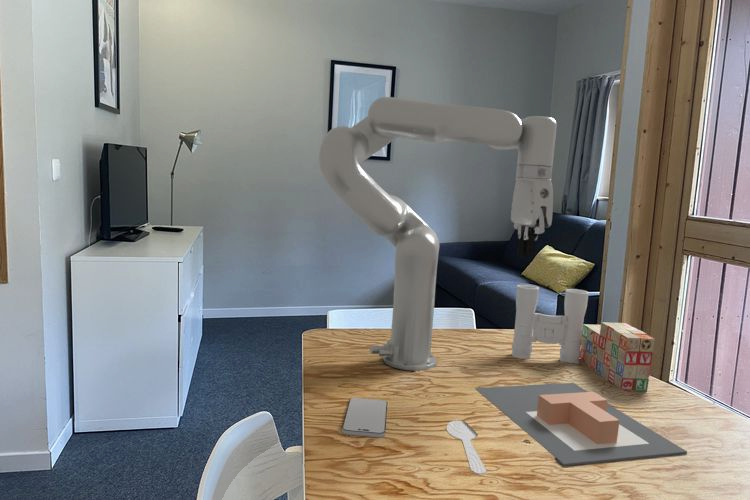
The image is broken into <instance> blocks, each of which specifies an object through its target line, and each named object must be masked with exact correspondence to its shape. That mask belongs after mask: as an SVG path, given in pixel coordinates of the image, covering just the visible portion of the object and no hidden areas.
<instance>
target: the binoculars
mask: <svg viewBox="0 0 750 500" xmlns="http://www.w3.org/2000/svg"><path fill="white" fill-rule="evenodd" d="M564 291H565V293H564V306H563V308H564V309H563V310H564V315H549V314H542V313H540V312H536V310H537V305H538V301H539V293H540V287H539V286H537V285H531V284H517V285H516V293H515V311H516V312H515V320H514V322H515V323H514V329H513V332H514V333H513V340H512V344H511V350H512V351H511V357H514V358H516V359H521V360H529V359H531V355H532V354H531V353H532V350H533V343H536V342H539V343H542V344H548V345H549V344H551V345H552V344H553V345H556V344H558V345H559V346H560V349H559V361H560V362H561V363H570V364H571V363H572V364H575V365H579V363H580V355H581V342H582V330H583V324H584V320H585V319H584V318H585V315H586V313H587V307H588V301H589V294H590V293H589V291H587V290H584V289H578V288H567V289H565V290H564Z"/></svg>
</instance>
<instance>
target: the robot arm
mask: <svg viewBox="0 0 750 500" xmlns="http://www.w3.org/2000/svg"><path fill="white" fill-rule="evenodd" d="M557 125H558V124H557V121H556V120H555V118H553V117H551V116H543V115H534V116H533V115H532V116H526V117H524V118H519V117H518V115H517V114H515V113H514V112H511V111H509V110H505V109H497V108H490V107H481V106H472V105H462V104H461V105H459V104H452V103H439V102H430V101H425V100H424V101H423V100H415V99H407V98H400V97H393V96H382V97H379V98H376V99H375V100H374V101H373V102H371V104H370V106H369V108H368V111H367V116H366V117H364V118H363V119H362V120H360V121H359V122H357V123H356V124H355V125H353V126H352V127H349V126H345V125H343V126H342V125H341V126H336V127H333V128H332V129H330V130H329V131H328V132H327V133H326V134H325V136H324V137H323V140H322V141H321V144H320V147H319V155H318V157H319V158H318V162H319V167H320V172H321V174H322V176H323V178H324V180H325V182H326V184H327V185H328V186H329V188H330V189H331V190H332V191H333V192H334V194H335V195H337V197H338V198H339V199H340V200H341V201H342V202H343V203H344V204H345V205H346V206H347V207H348V208H349V209H350V210H351V211H352V212H353V213H354V214H355V215H356V216H357V217H358V218H359V219H360V221H362V223H363V224H364V225H366V226H367V228H368V230H370V231H371V232H372V233H373V234H374V235H377V236H379V237H385V238H386V239H387V240H388V241H389V242H390V243H391V244H392V245H393V246H394V247H395V251H394V252H395V253H394V254H395V255H394V256H395V257H394V286H393V305H392V319H391V334H390V339H388V340H386V343H383V344H382V345H377V344H376V345H370V347H369V351H370V354H371V355H375V354H376V355H378V357H382V361H383V363H384V364H385V365H387V366H389V367H391V368H393V369H399V370H405V371H410V372H411V371H424V370H425V371H426V370H430V369H432V368H435V367H436V365H437V358H436V356H434V355H433V354H431V352H432V340H433V339H432V337H433V326H434V313H435V300H436V286H437V285H436V284H437V271H438V263H439V252H440V239H439V237H438V235H437V233H436V232H435V231H434V230H433V228H431V227H430V226H429V225H428V224H427V223H426V222H425V221H424V220H423V219H422V218H421V217H420V216H419V215H418V214H417V213H416V211H414V210H413V209H412V208H411V207H410V206H409V205H408V204H407V203H406V202H405V201H403V199H401V198H400V197H398V196H396V195H393V194H389V193H388V192H386V191H385V190H384V189H383V188H382V187H381V186H380V185H379V184H378V183H377V181H375V180H374V179H373V177H372V176H370V174H368V173H367V172H366V171H365V170H364V169H363V168H362V167H361V165H360V163H363V162H364V161H366V160H367V159H369V158H370V157H372V156H373V155H375V154H376V153H377V152H379V151H380V150H382V149H383V148H385V147H386V146H387V145H389V144H390V143H391V142H393V141H394V140H396V138H402V139H408V140H415V141H416V140H417V141H422V142H431V143H440V144H441V143H443V144H444V143H452V142H460V143H469V144H470V143H471V144H479V145H486V146H489V147H490V148H492V149H494V150H498V151H505V150H506V151H507V150H518V151H517V162H516V173H515V174H516V175H515V184H514V190H513V194H512V200H511V201H512V202H511V208H510V210H511V211H510V220H511V222H512V223H513V228H514V229H515V230H516V231H517V238H518V247H517V248H518V249H517V257H518V258H523V259H533V258H535V250H536V249H535V248H536V241H537V240H538V237H539V235H541V234H544V233H545V228H550V227H551V226H552V222H553V213H554V212H553V211H554V208H553V207H554V188H553V182H552V174H553V165H554V155H555V145H556V138H557Z"/></svg>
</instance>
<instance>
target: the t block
mask: <svg viewBox="0 0 750 500" xmlns="http://www.w3.org/2000/svg"><path fill="white" fill-rule="evenodd" d="M607 403H608V399H606V398H605V397H603V396H601V395H600V394H598V393H596V392H595V391H588V392H580V393H564V394H548V395H539V399H538V408H537V416H538V417H539V418H541V419H542V420H543V421H545V422H546V423H547V424H549V425H554V424H567V423H568V424H570V425H571V426H572V427H574V428H575V429H577V430H578V431H579V432H581V433H582V434H584V435H585V436H586V437H588V438H589V439H590V440H592V441H593V442H595V443H596V444H606V443H616V442H617V437H618V429H619V421H620V420H618V419H617V418H615V417H614V416H612V415H610V414H609V413H607V412H606V407H607Z"/></svg>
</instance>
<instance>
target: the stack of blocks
mask: <svg viewBox="0 0 750 500" xmlns="http://www.w3.org/2000/svg"><path fill="white" fill-rule="evenodd" d="M654 347H655V338H654V337H652V336H651V335H648V334H647V333H646V332H644V331H642V330H640V329H638V328H636V327H634V326H632V325H630V324H628V323H626V322H608V321H607V322H604V321H602V322H601V323H600V324H585V323H583V330H582V339H581V349H580V351H581V355H580V358H579V360H581V361H583V362H584V363H585V365H587V366H589V367H590V368H591V369H592V370H594V371H595V372H596V373H598V374H599V375H600V376H601V377H603V378H604V379H605V380H606V381H608V382H609V383H610V384H611V385H614V386H616V387H617V388H618V389H620V390H623V391H626V392H648V388H649V381H650V379H649V377H650V374H651V366H652V361H653V360H652V359H653V354H654V353H653V352H654Z"/></svg>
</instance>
